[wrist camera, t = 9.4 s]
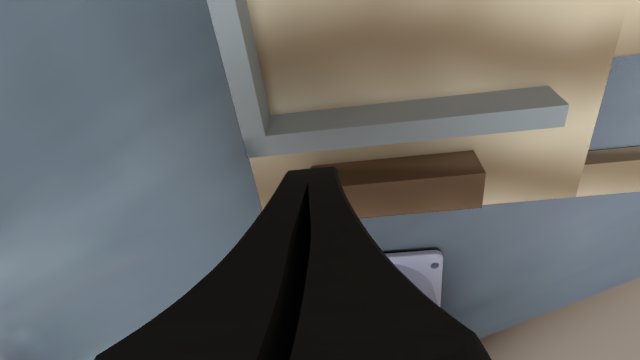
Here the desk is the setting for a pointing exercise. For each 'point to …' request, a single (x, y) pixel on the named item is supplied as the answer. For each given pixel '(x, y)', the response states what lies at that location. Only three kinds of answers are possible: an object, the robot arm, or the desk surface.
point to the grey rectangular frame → (364, 106)
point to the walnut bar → (413, 184)
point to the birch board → (453, 80)
